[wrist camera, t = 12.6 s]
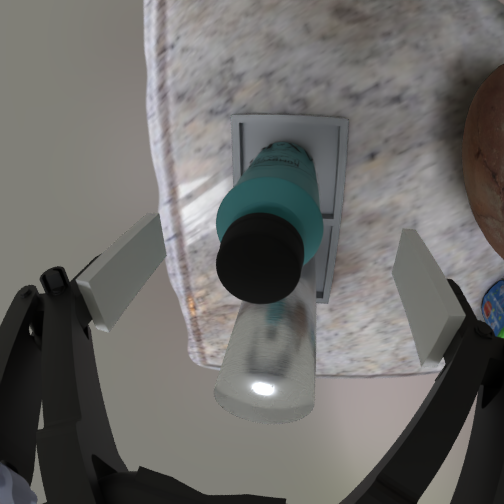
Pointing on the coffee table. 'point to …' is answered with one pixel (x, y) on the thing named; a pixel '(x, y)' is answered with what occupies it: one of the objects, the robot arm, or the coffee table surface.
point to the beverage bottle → (269, 225)
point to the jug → (486, 158)
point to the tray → (326, 165)
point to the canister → (272, 357)
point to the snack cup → (495, 308)
